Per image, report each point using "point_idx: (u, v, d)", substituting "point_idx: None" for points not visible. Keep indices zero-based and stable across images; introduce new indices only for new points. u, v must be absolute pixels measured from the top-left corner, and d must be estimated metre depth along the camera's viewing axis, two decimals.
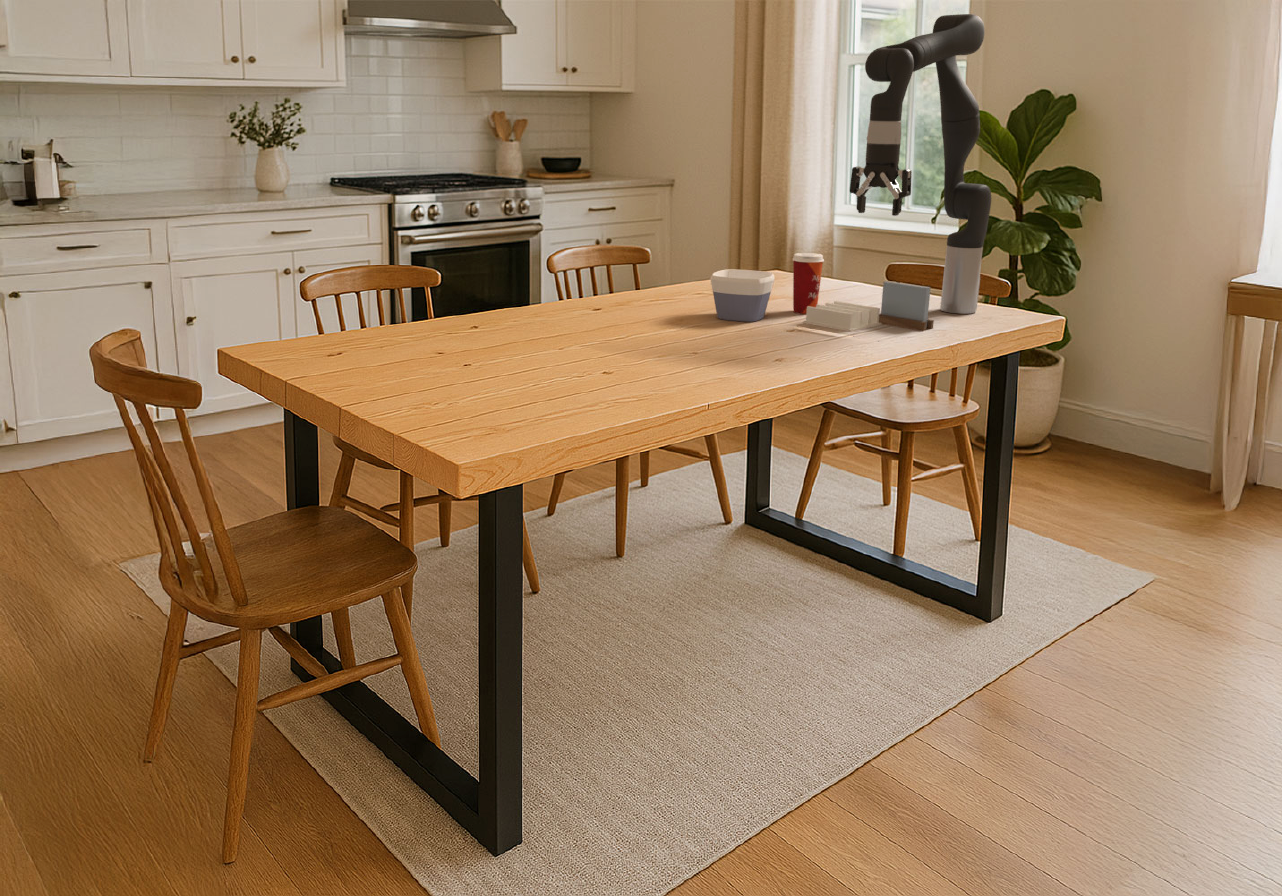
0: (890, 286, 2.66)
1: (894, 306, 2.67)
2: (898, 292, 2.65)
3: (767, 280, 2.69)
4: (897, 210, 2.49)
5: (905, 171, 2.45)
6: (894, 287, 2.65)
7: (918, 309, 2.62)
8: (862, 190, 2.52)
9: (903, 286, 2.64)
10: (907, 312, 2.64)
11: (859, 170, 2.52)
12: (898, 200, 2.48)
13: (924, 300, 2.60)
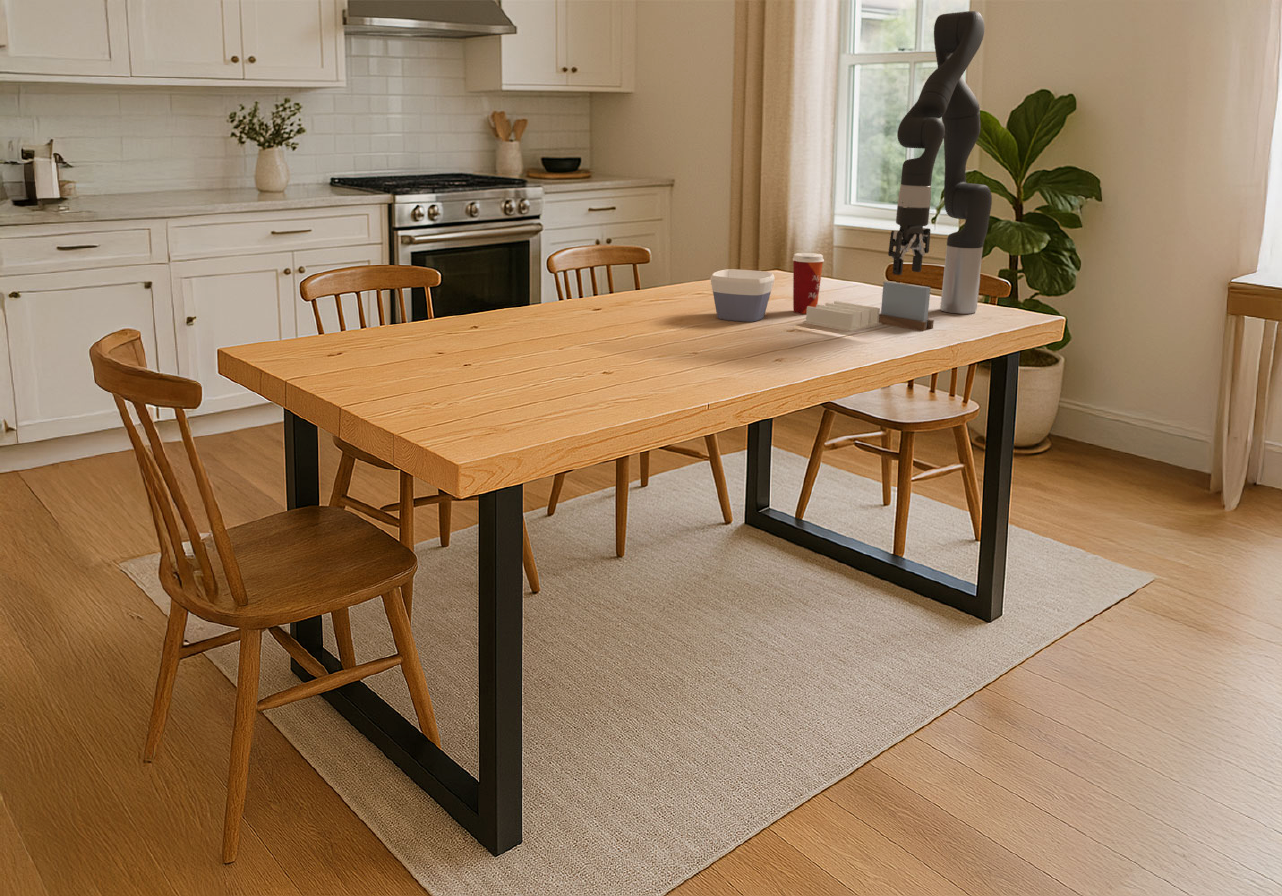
0: (890, 286, 2.66)
1: (894, 306, 2.67)
2: (898, 292, 2.65)
3: (767, 280, 2.69)
4: (921, 266, 2.66)
5: (929, 230, 2.64)
6: (894, 287, 2.65)
7: (918, 309, 2.62)
8: (904, 253, 2.58)
9: (903, 286, 2.64)
10: (907, 312, 2.64)
11: None
12: None
13: (924, 300, 2.60)
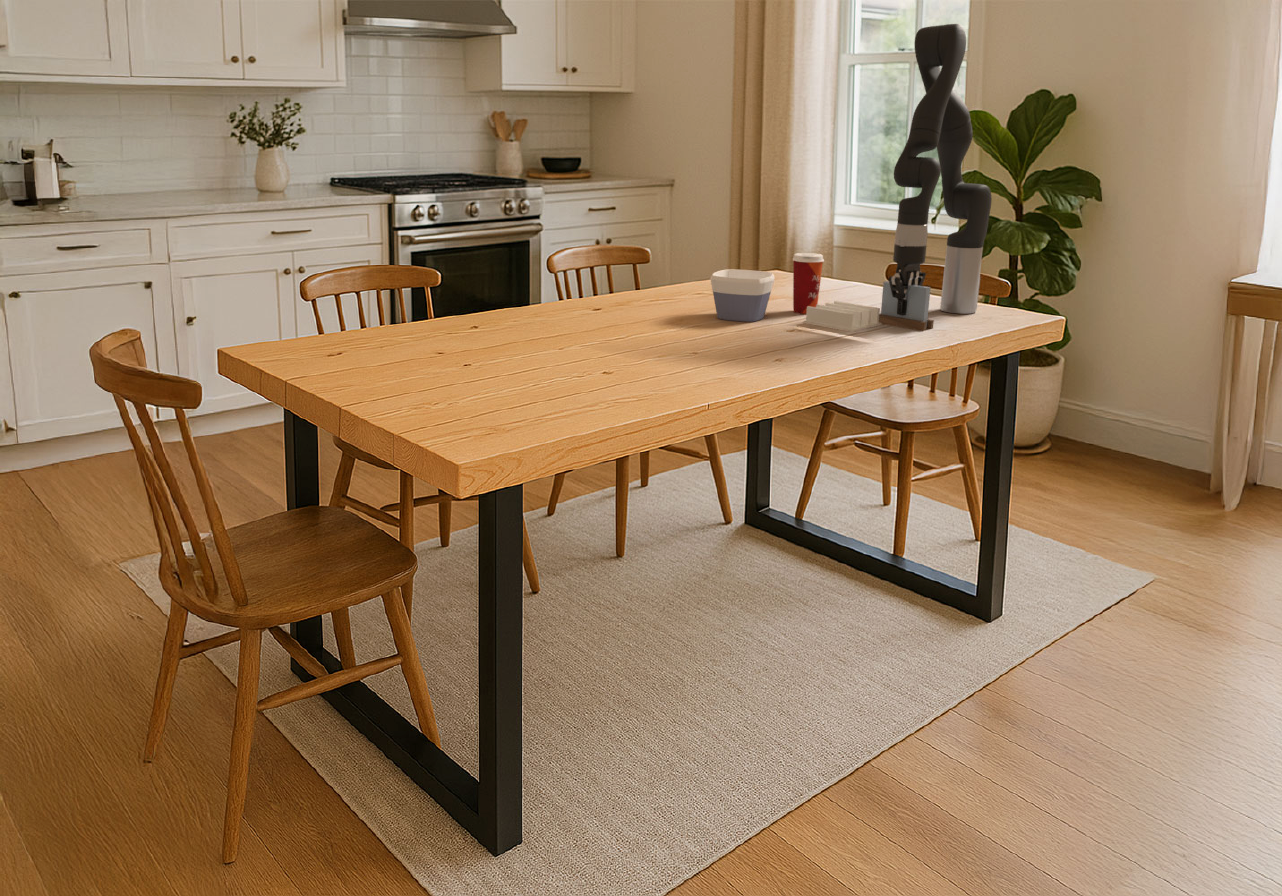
0: None
1: (894, 306, 2.67)
2: None
3: (767, 280, 2.69)
4: None
5: (925, 274, 2.67)
6: None
7: (918, 309, 2.62)
8: (907, 293, 2.63)
9: (903, 286, 2.64)
10: (907, 312, 2.64)
11: None
12: None
13: (924, 300, 2.60)
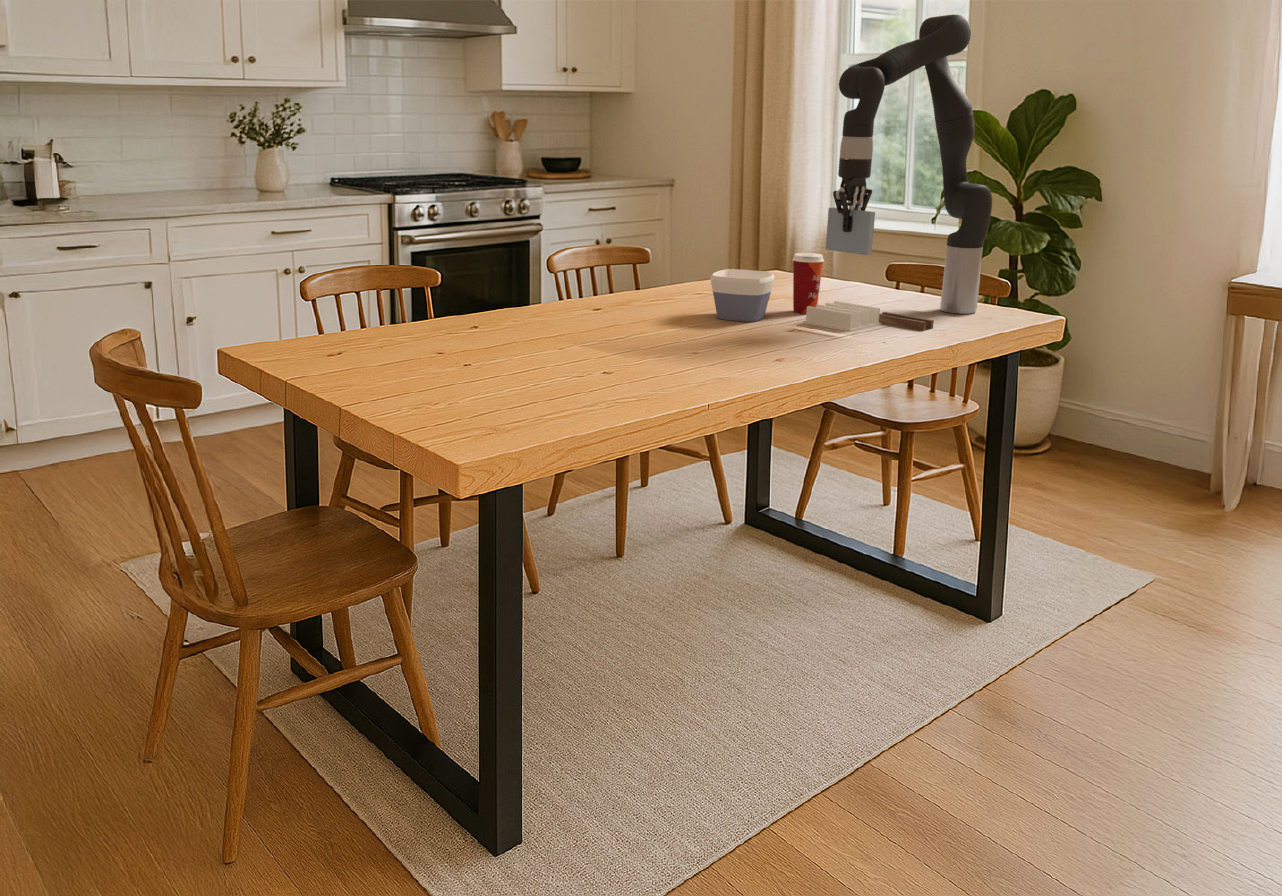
0: (835, 212, 2.61)
1: (839, 232, 2.62)
2: None
3: (767, 280, 2.69)
4: None
5: (871, 191, 2.61)
6: (839, 213, 2.61)
7: (863, 234, 2.57)
8: (852, 208, 2.57)
9: None
10: (852, 238, 2.59)
11: None
12: None
13: (868, 225, 2.56)
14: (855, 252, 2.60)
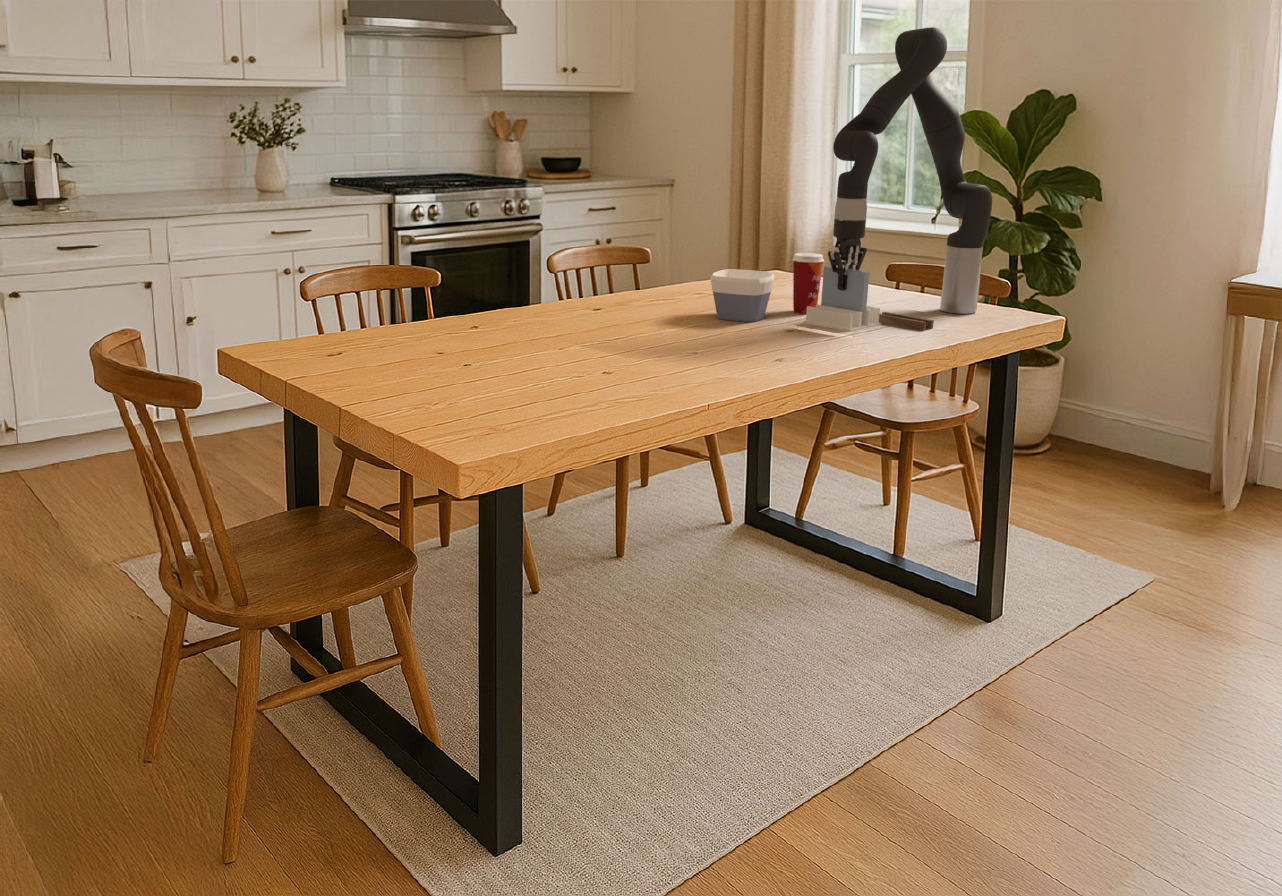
0: (830, 271, 2.66)
1: (834, 291, 2.66)
2: None
3: (767, 280, 2.69)
4: None
5: (866, 250, 2.66)
6: (834, 272, 2.65)
7: (857, 294, 2.62)
8: (847, 267, 2.62)
9: None
10: (847, 297, 2.64)
11: (837, 252, 2.58)
12: None
13: (863, 284, 2.60)
14: None
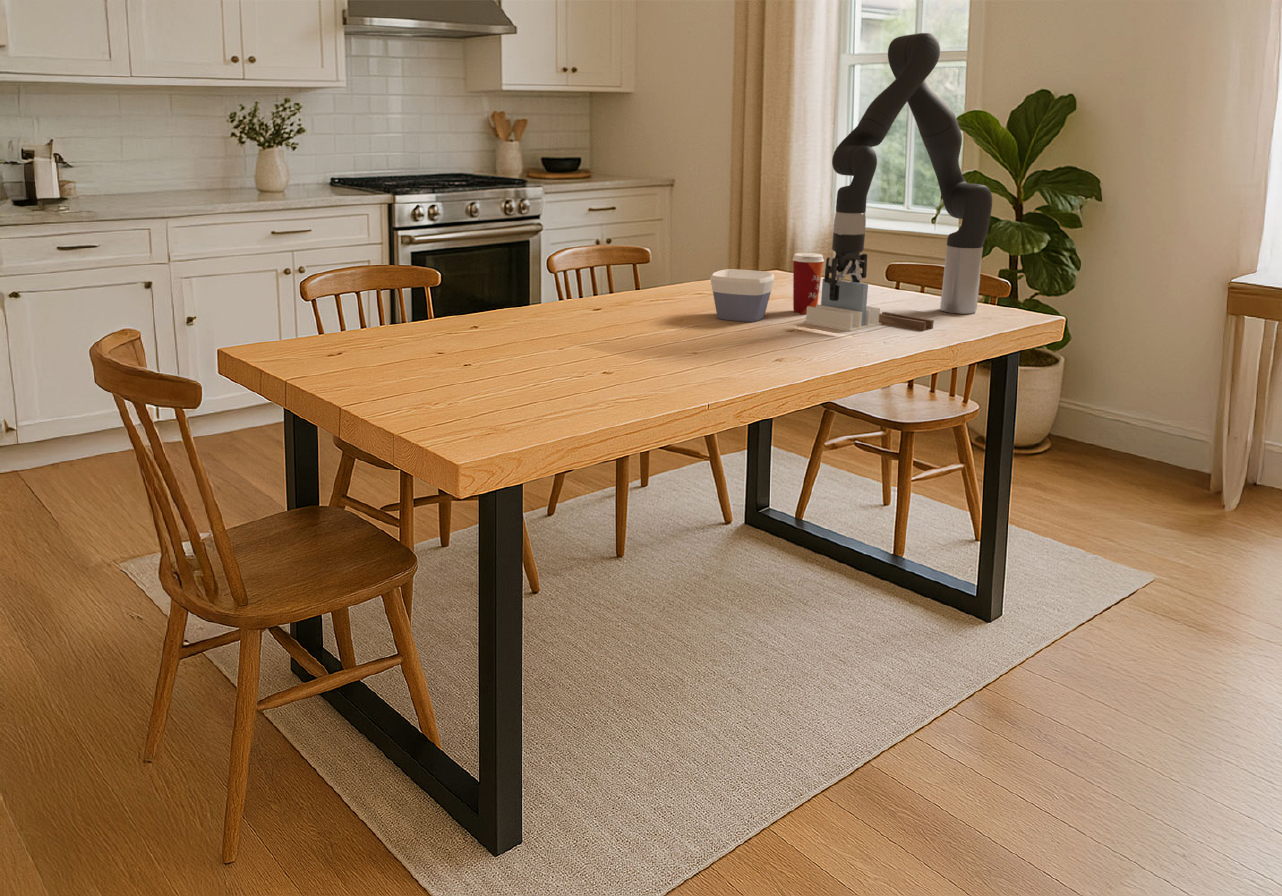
0: None
1: (833, 303, 2.67)
2: None
3: (767, 280, 2.69)
4: None
5: (866, 255, 2.66)
6: None
7: (856, 306, 2.63)
8: (840, 279, 2.61)
9: (841, 283, 2.64)
10: None
11: None
12: (859, 282, 2.68)
13: (861, 297, 2.61)
14: None
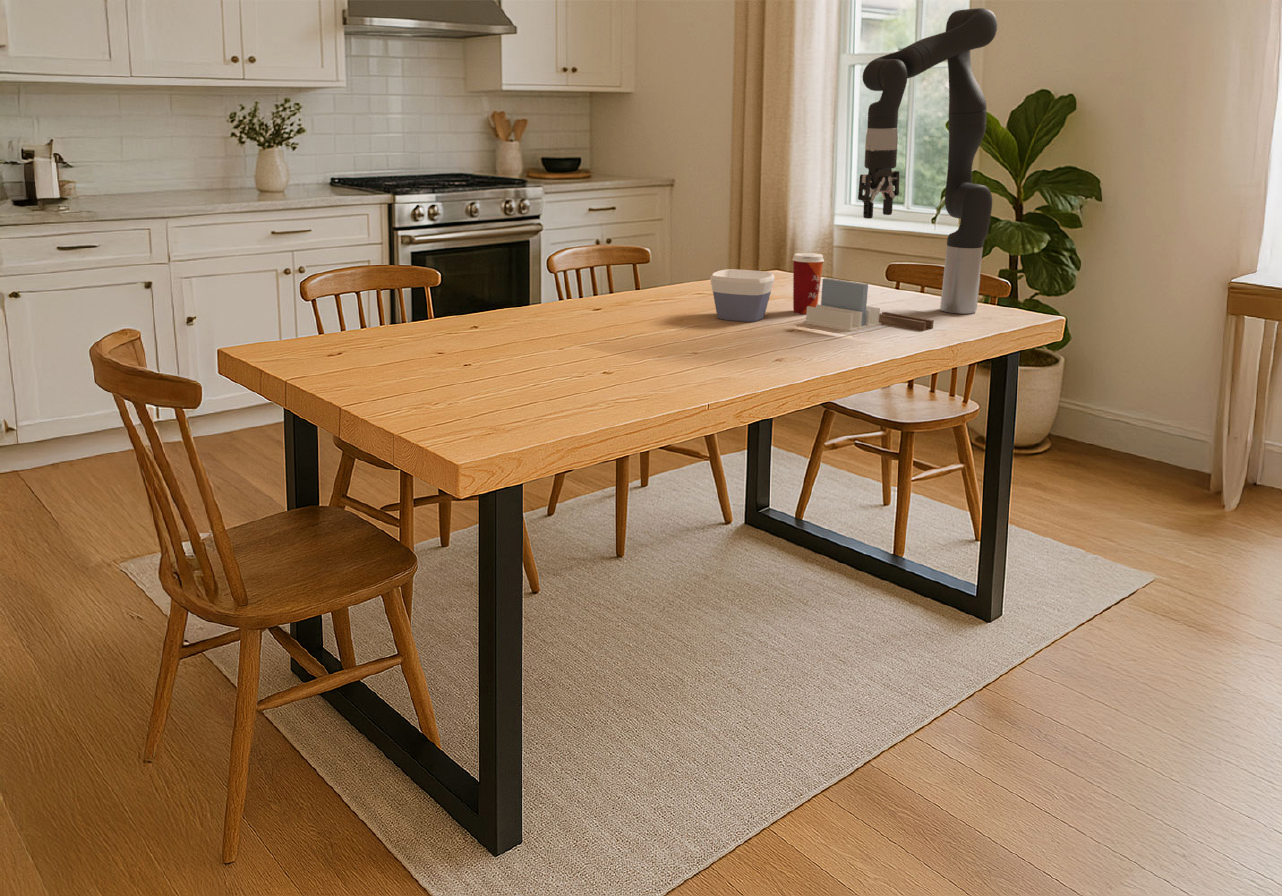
0: (829, 283, 2.67)
1: (833, 303, 2.67)
2: (837, 289, 2.65)
3: (767, 280, 2.69)
4: (891, 209, 2.68)
5: (898, 172, 2.66)
6: (833, 284, 2.66)
7: (856, 306, 2.63)
8: (874, 196, 2.60)
9: (841, 283, 2.64)
10: None
11: None
12: None
13: (861, 297, 2.61)
14: None
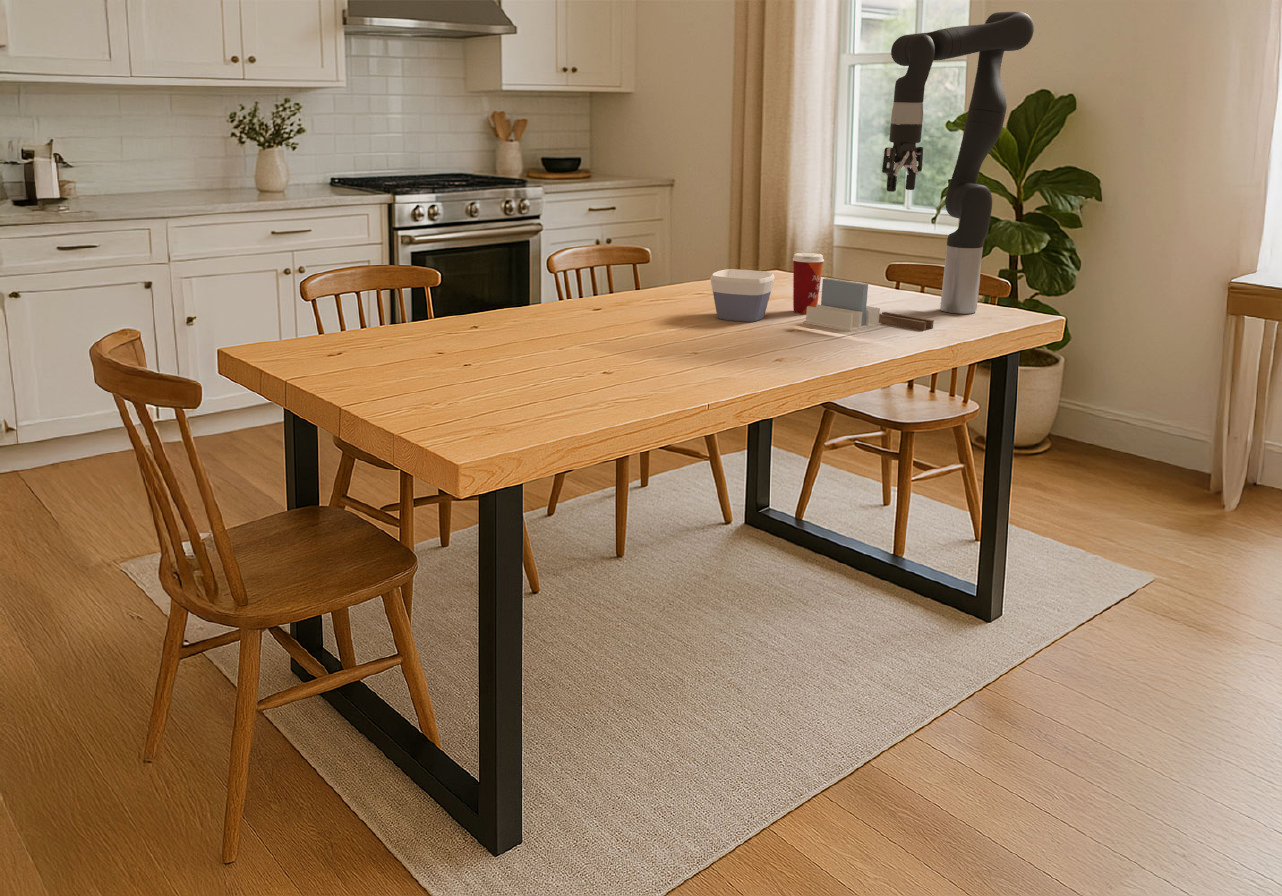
0: (829, 283, 2.67)
1: (833, 303, 2.67)
2: (837, 289, 2.65)
3: (767, 280, 2.69)
4: None
5: (922, 148, 2.69)
6: (833, 284, 2.66)
7: (856, 306, 2.63)
8: (898, 169, 2.64)
9: (841, 283, 2.64)
10: None
11: None
12: None
13: (861, 297, 2.61)
14: None
